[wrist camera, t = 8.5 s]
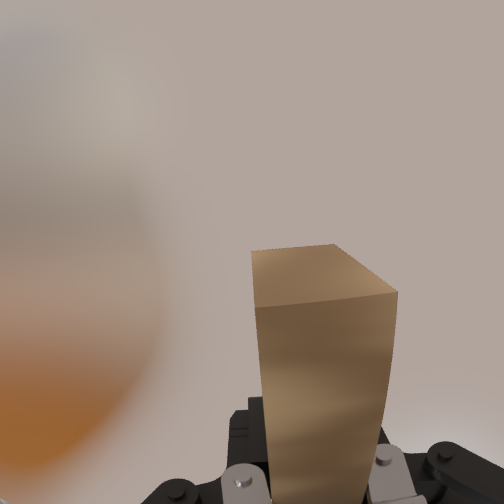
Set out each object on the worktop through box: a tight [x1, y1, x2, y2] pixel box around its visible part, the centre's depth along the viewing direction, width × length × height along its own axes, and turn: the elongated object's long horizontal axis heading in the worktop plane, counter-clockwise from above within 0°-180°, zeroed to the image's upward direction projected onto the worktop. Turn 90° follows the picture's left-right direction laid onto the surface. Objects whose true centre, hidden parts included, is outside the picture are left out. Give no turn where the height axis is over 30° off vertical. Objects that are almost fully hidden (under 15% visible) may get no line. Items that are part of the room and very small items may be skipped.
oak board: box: [251, 244, 398, 504], centre depth 9 cm, size 2×4×15 cm, turn 0°
